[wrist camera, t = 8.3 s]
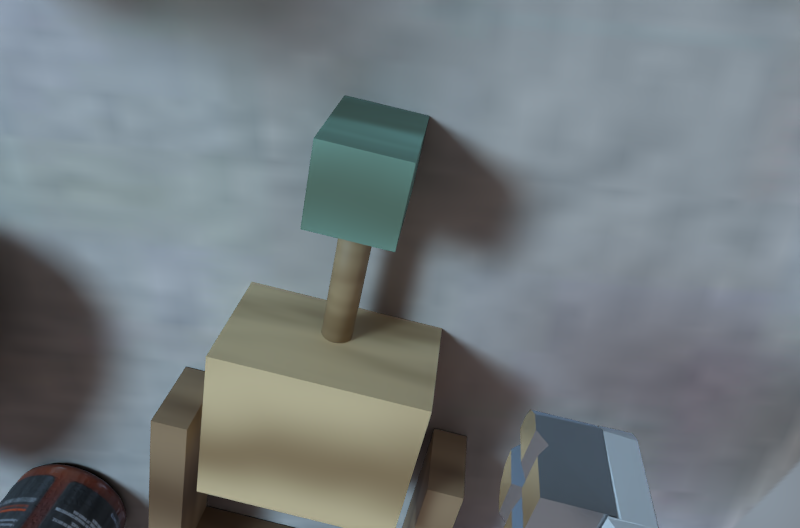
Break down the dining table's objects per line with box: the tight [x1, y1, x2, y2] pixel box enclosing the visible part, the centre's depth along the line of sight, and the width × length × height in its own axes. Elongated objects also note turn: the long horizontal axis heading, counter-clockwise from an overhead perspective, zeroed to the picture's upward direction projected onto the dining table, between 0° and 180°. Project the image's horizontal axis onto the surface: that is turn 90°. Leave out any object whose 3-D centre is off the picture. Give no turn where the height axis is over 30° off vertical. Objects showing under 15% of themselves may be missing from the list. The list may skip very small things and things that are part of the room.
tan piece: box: [148, 367, 467, 528], centre depth 31 cm, size 10×13×4 cm
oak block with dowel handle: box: [197, 95, 442, 528], centre depth 24 cm, size 16×8×5 cm, turn 168°
